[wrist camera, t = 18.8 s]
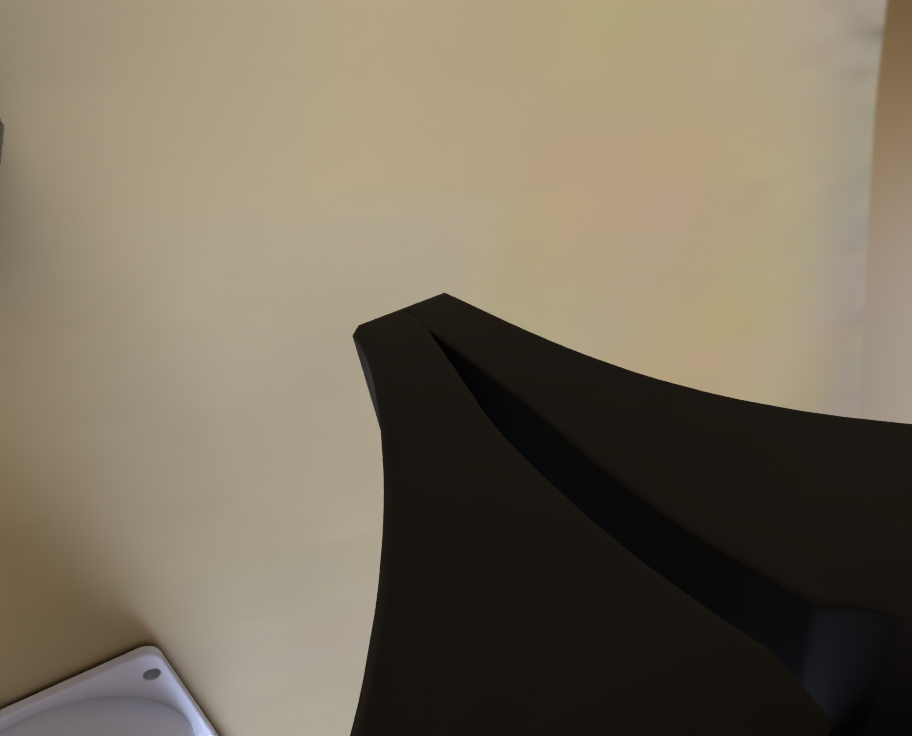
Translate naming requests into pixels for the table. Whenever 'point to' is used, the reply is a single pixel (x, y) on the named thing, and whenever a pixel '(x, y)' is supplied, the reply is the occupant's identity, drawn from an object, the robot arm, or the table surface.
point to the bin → (1, 137)
